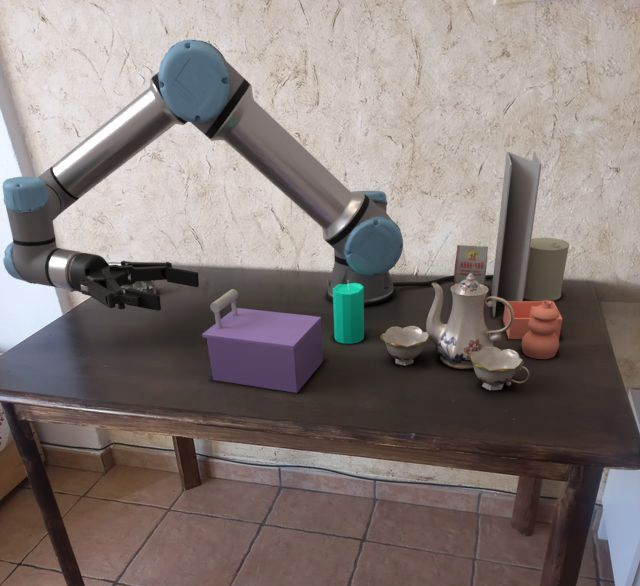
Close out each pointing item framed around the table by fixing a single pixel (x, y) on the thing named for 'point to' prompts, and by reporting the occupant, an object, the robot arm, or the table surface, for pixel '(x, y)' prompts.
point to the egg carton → (141, 286)
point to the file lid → (258, 325)
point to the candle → (348, 313)
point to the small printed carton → (470, 263)
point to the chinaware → (460, 336)
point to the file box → (266, 362)
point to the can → (545, 269)
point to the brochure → (515, 226)
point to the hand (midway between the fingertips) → (179, 290)
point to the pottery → (535, 327)
